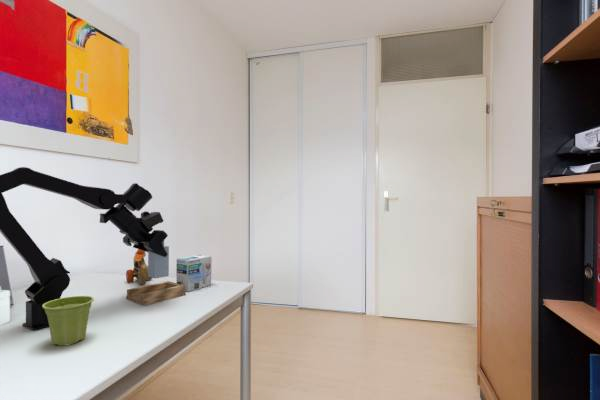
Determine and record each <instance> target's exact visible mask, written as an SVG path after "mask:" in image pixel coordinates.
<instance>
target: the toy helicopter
mask: <svg viewBox="0 0 600 400" xmlns="http://www.w3.org/2000/svg"><path fill="white" fill-rule="evenodd" d="M146 255H147V252H146V251H143V250H140V249H137V251H135V253H134V256H133V268H132V269H127V270H126V272H125V277H126V278H125V279H126V282H127V283H128V284H130V283H133V282H134V280H135V279H136V280H137V281H138V283H139V285H145V284H146V283H147V281H148V280H153V278H151V277H148V264H146V261H145V257H146Z"/></svg>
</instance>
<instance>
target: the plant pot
mask: <svg viewBox="0 0 600 400" xmlns="http://www.w3.org/2000/svg"><path fill="white" fill-rule="evenodd" d="M94 300H95V298H94V296H90V295H75V296H73V295H72V296H65V297H61V298H60V299H55V300H52V301H49V302H46V303H44V304H43V305H42V307H43V308H44V309H45V313H46V314H47V317H48V322H49V326H48V327H49V334H50V339H51V344H52V345H58V346H68V345H73V344H77V343H78V342H79V341H83V340H84V339H85V338H86V334H87V328H88V321H89V316H90V315H89V314H90V310H91V307H92V303H93V302H94Z"/></svg>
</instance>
